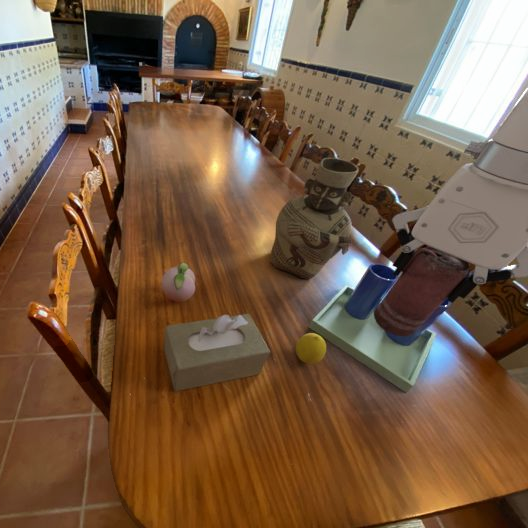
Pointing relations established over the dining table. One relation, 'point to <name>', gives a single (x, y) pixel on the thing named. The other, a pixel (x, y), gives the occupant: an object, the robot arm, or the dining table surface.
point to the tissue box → (214, 351)
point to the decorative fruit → (179, 283)
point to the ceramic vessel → (315, 221)
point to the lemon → (311, 348)
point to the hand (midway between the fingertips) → (423, 283)
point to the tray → (372, 342)
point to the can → (420, 290)
